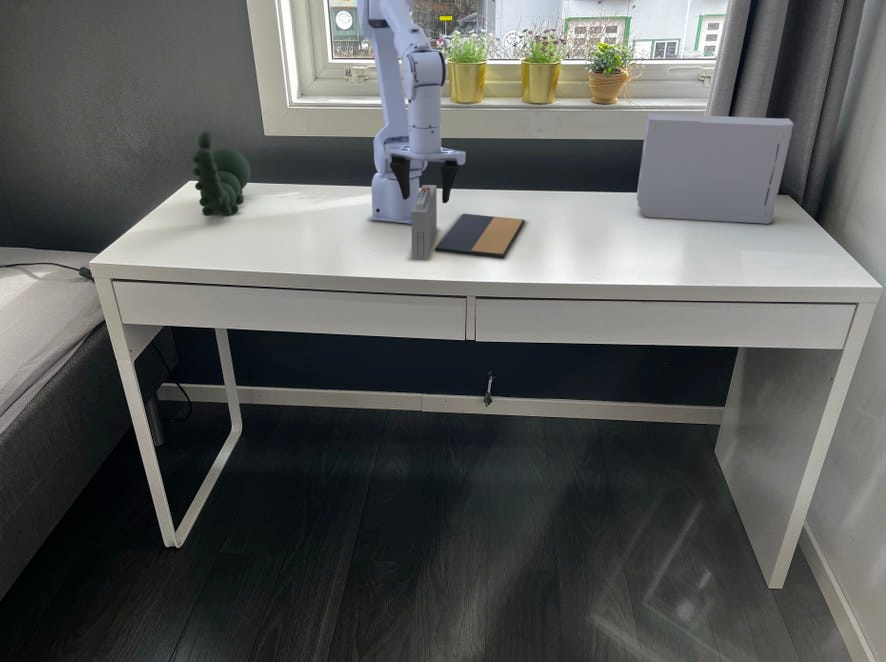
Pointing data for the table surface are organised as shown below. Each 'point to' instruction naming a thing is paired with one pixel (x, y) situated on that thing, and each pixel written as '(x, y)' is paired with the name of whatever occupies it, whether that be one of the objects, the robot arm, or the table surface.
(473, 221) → the desk mat
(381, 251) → the table surface
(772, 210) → the game console
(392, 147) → the robot arm
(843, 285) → the table surface
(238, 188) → the toy figurine
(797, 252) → the table surface
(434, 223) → the cassette player
